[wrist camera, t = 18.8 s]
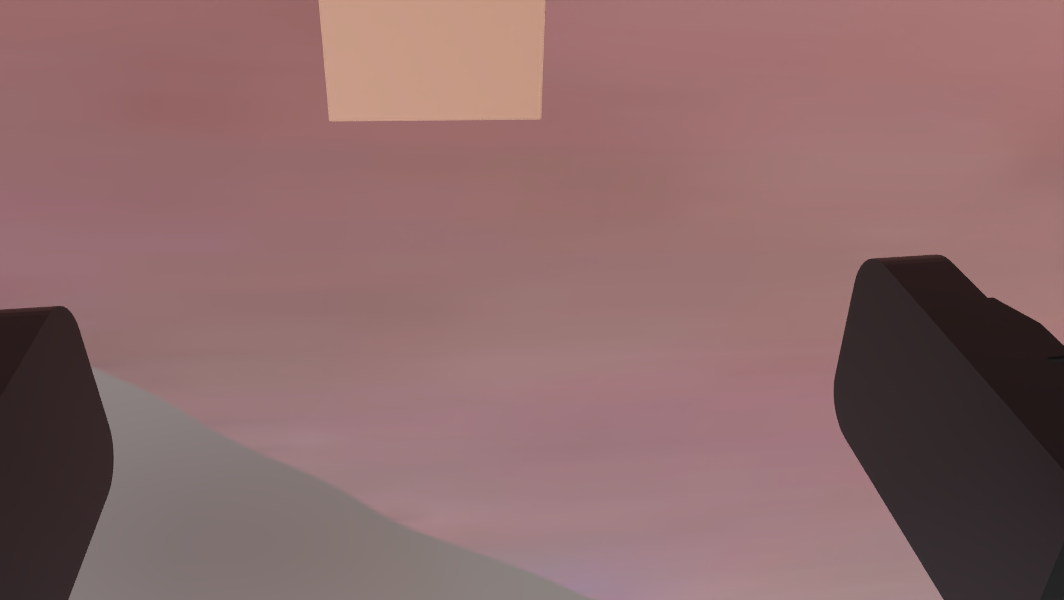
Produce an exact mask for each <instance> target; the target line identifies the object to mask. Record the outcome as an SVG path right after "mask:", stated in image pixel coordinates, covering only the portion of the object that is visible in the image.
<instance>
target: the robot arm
mask: <svg viewBox="0 0 1064 600" xmlns="http://www.w3.org/2000/svg"><path fill="white" fill-rule="evenodd" d="M834 404H835V410H836V415H837V419H838V423H839V426H840V428H841V431H842V433H843V435H844V437H845V439H846V440H847V442H848V444H849V445H850V447H851V449H852V450H853V452H854V454H855V455H856V457H857V458H858V460H859V462H860V463H861V465H862V467H863V468H864V470H865V472H866V473H867V475H868V476H869V478H870V480H871V481H872V483H873V485H874V486H875V488H876V490H877V491H878V493H879V494H880V496H881V498H882V499H883V501H884V503H885V504H886V506H887V508H888V509H889V511H890V512H891V514H892V516H893V517H894V519H895V521H896V522H897V524H898V526H899V527H900V529H901V530H902V532H903V534H904V535H905V537H906V539H907V540H908V542H909V544H910V545H911V547H912V549H913V550H914V552H915V553H916V555H917V557H918V558H919V560H920V562H921V563H922V565H923V567H924V568H925V570H926V571H927V573H928V575H929V576H930V578H931V580H932V581H933V583H934V585H935V586H936V588H937V589H938V591H939V593H940V594H941V596H942V598H943V599H944V600H1064V345H1062V344H1061V343H1060V342H1059V341H1058V340H1057V339H1056V338H1055V337H1054V336H1053V335H1052V334H1051V333H1050V332H1049V331H1048V330H1047V329H1046V328H1045V327H1044V326H1043V325H1042V324H1040V323H1039V322H1037V321H1035V320H1033V319H1031V318H1030V317H1028V316H1026V315H1024V314H1022V313H1020V312H1019V311H1017V310H1015V309H1013V308H1011V307H1009V306H1008V305H1006V304H1004V303H1002V302H1000V301H999V300H997V299H995V298H987V297H986V296H985V295H984V294H983V293H982V292H981V291H980V290H979V289H978V288H977V287H976V286H975V285H974V284H973V283H972V282H971V281H970V280H969V279H968V278H967V277H966V276H965V275H964V274H963V273H962V272H961V271H960V270H959V269H958V268H957V267H956V266H955V265H954V264H953V263H952V262H951V261H950V260H949V259H947V258H946V257H944V256H942V255H923V256H907V257H890V258H874V259H868V260H867V261H865V262H864V263H863V264H862V265H861V267H860V269H859V271H858V273H857V276H856V279H855V283H854V288H853V293H852V298H851V302H850V307H849V312H848V317H847V321H846V326H845V331H844V336H843V341H842V345H841V350H840V355H839V360H838V364H837V369H836V374H835V380H834ZM112 474H113V443H112V436H111V432H110V428H109V424H108V421H107V418H106V414H105V411H104V408H103V405H102V401H101V398H100V395H99V392H98V388H97V385H96V382H95V379H94V376H93V372H92V369H91V366H90V362H89V359H88V356H87V353H86V350H85V346H84V343H83V340H82V337H81V333H80V330H79V327H78V325H77V322H76V320H75V318H74V316H73V315H72V313H71V312H70V311H69V310H68V309H67V308H65V307H63V306H53V307H37V308H20V309H4V310H0V600H68V598H69V596H70V593H71V591H72V588H73V586H74V583H75V580H76V578H77V575H78V572H79V570H80V567H81V564H82V562H83V559H84V557H85V554H86V551H87V549H88V546H89V543H90V540H91V538H92V536H93V533H94V530H95V528H96V525H97V522H98V520H99V517H100V514H101V512H102V509H103V506H104V504H105V501H106V499H107V496H108V493H109V490H110V486H111V481H112Z"/></svg>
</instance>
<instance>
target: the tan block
mask: <svg viewBox="0 0 1064 600" xmlns="http://www.w3.org/2000/svg"><path fill="white" fill-rule="evenodd" d="M319 10H320V21H321V32H322V43H323V55H324V66H325V77H326V89H327V100H328V111H329V121H415V120H521V119H541V106H542V79H543V51H544V24H545V0H319Z"/></svg>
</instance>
